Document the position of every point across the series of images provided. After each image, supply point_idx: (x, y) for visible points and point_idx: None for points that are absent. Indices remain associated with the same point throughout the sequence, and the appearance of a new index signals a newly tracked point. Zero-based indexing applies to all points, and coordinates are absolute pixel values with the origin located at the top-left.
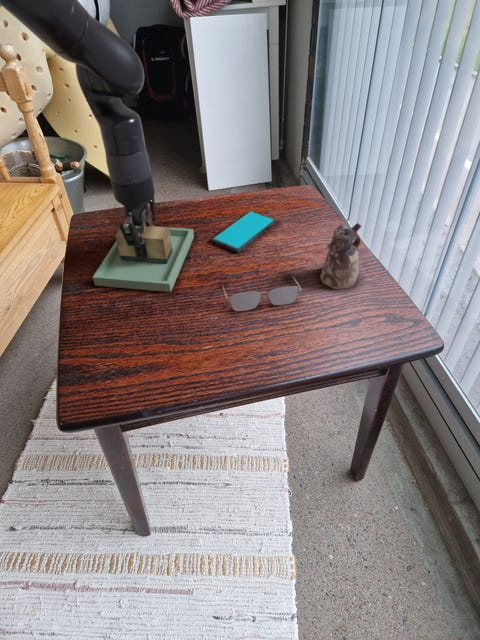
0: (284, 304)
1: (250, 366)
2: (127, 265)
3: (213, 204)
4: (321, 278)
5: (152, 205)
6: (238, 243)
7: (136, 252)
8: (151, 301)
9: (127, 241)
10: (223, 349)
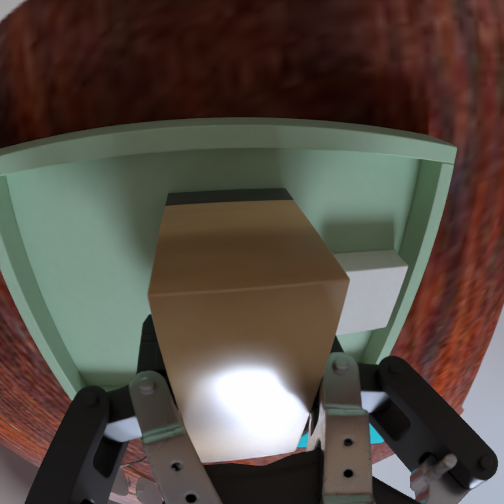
0: (148, 480)
1: (27, 452)
2: (136, 238)
3: (485, 335)
4: None
5: (406, 464)
6: (306, 442)
7: (141, 343)
8: (29, 353)
9: (66, 429)
10: (26, 439)
